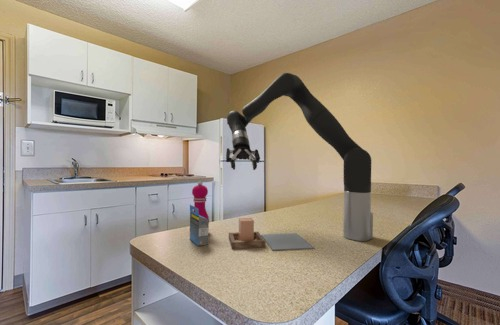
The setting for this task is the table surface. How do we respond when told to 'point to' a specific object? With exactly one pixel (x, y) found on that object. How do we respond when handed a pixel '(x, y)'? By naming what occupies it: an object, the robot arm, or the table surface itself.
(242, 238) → the terracotta block
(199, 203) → the pepper mill
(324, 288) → the table surface
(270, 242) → the slate mat
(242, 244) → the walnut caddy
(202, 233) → the label tape cartridge
